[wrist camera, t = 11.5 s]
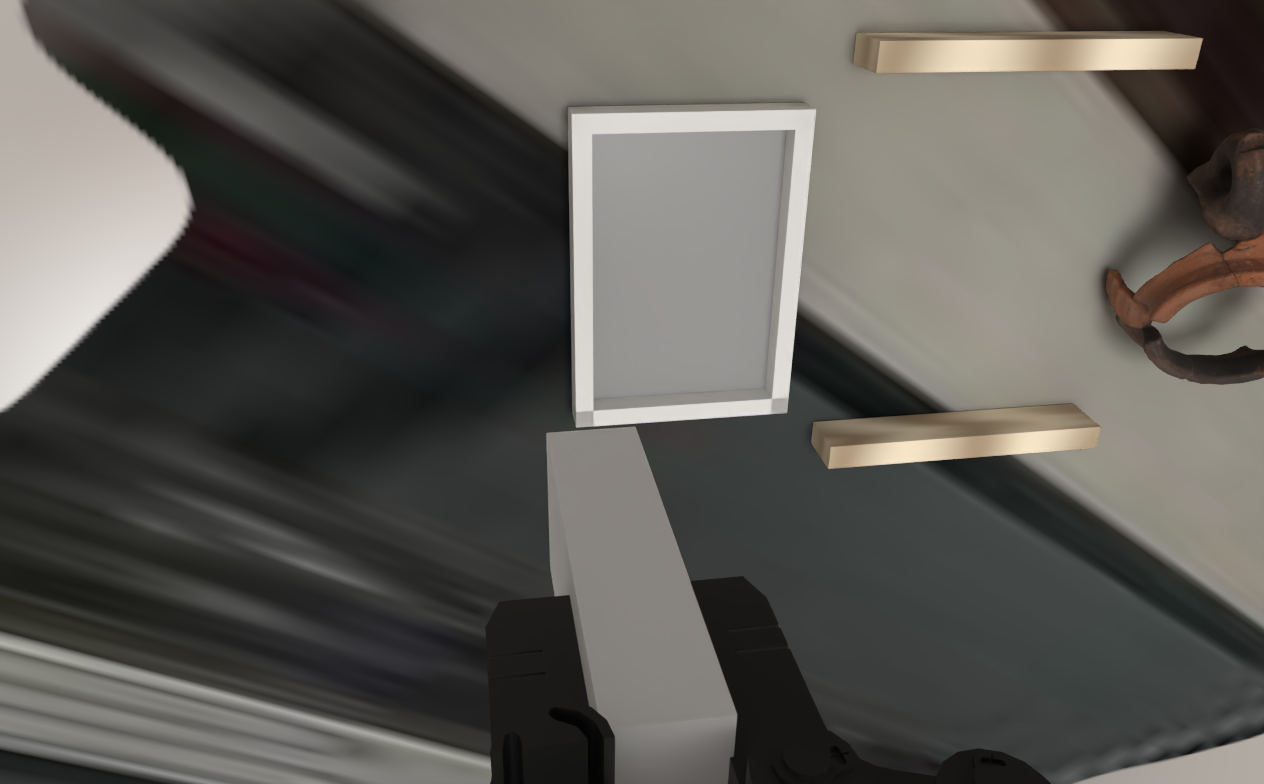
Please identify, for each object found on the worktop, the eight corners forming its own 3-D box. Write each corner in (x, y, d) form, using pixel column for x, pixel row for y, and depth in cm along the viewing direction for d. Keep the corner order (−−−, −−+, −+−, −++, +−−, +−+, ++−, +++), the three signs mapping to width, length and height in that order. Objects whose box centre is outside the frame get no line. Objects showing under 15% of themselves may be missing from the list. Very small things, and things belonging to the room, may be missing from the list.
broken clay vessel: (1302, 263, 50) (1348, 387, 45) (1097, 290, 53) (1118, 408, 48) (1333, 58, 42) (1394, 180, 36) (1089, 106, 45) (1113, 224, 40)
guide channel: (810, 442, 49) (828, 468, 47) (856, 32, 40) (879, 41, 38) (1067, 423, 51) (1095, 447, 49) (1163, 30, 42) (1202, 38, 40)
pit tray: (572, 412, 46) (576, 427, 45) (567, 106, 40) (571, 114, 38) (777, 398, 47) (786, 412, 46) (804, 102, 41) (816, 109, 40)
